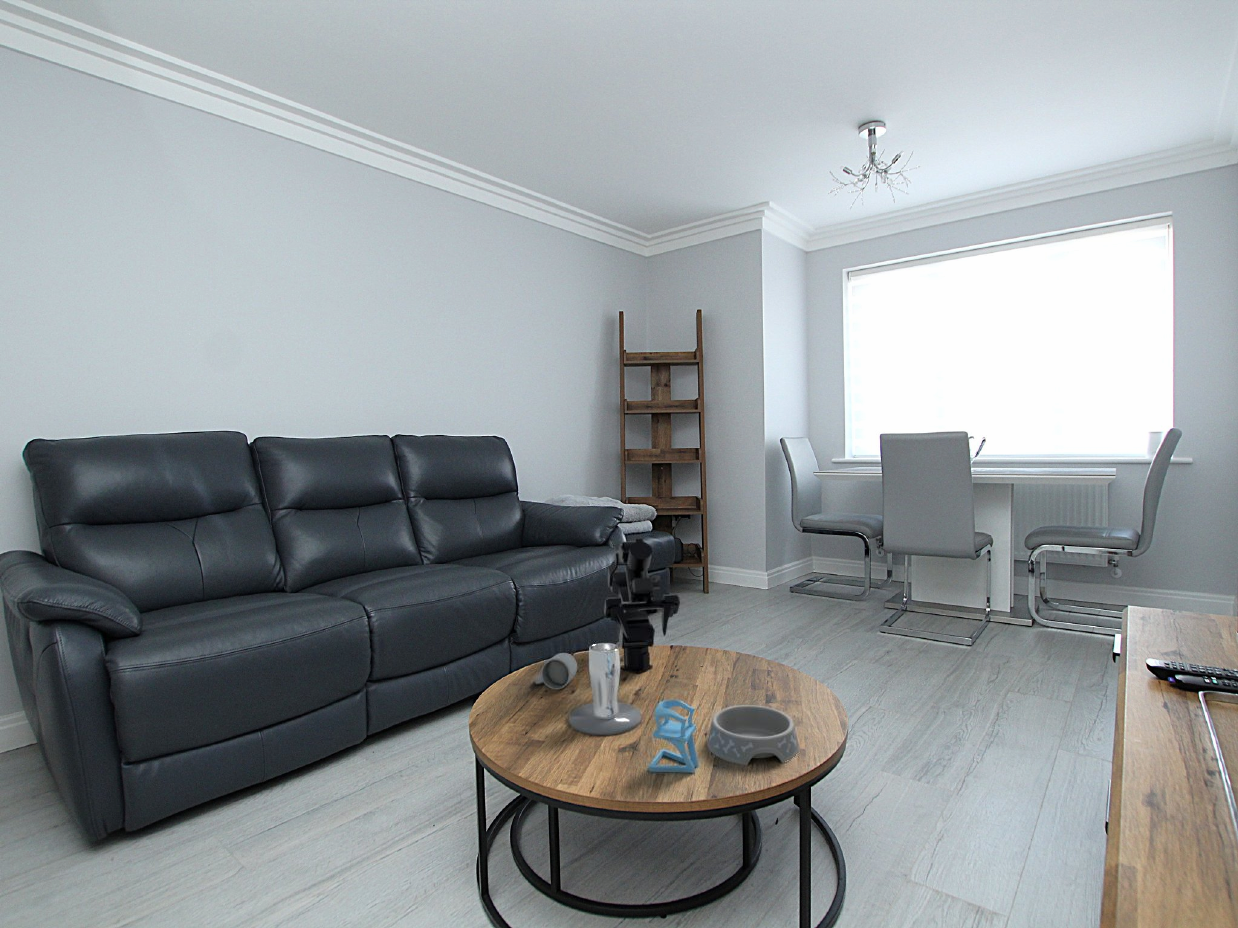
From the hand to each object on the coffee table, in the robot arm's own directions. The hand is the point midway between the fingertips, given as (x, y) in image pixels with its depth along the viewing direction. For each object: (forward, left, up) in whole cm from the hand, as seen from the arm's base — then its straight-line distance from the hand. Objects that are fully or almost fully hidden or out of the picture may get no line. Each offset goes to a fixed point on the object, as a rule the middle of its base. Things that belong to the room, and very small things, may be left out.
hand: (646, 636), depth 168 cm
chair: (+29, -26, -14) cm, 41 cm away
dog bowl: (+35, -9, -14) cm, 39 cm away
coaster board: (+4, -19, -14) cm, 24 cm away
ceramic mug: (-21, -11, -14) cm, 28 cm away
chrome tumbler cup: (+4, -19, -13) cm, 23 cm away
